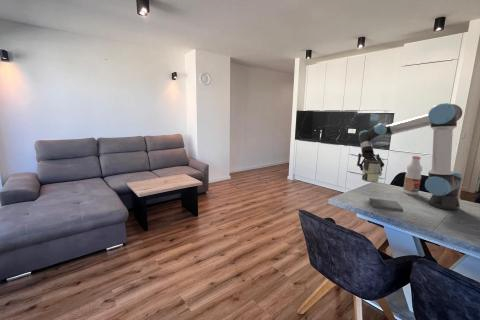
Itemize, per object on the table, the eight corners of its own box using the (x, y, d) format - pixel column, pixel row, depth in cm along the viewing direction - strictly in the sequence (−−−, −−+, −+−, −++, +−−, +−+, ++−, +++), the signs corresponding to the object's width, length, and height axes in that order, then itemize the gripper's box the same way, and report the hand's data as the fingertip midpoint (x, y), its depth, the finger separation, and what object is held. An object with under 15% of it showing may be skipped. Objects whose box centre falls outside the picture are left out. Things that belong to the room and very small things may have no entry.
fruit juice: (404, 190, 182) (409, 155, 176) (418, 193, 175) (425, 156, 170) (401, 192, 175) (407, 156, 170) (416, 196, 169) (423, 158, 163)
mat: (396, 203, 154) (396, 201, 154) (402, 211, 141) (403, 209, 141) (369, 200, 159) (369, 197, 159) (373, 207, 146) (373, 205, 146)
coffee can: (359, 180, 164) (361, 160, 161) (365, 177, 170) (367, 158, 168) (374, 183, 156) (377, 162, 153) (380, 180, 163) (383, 161, 160)
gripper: (381, 152, 173) (388, 178, 160) (349, 151, 176) (353, 176, 164) (385, 146, 167) (392, 172, 154) (352, 145, 170) (356, 170, 158)
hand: (372, 174), depth 159 cm, fingers closed on coffee can, 10 cm apart
